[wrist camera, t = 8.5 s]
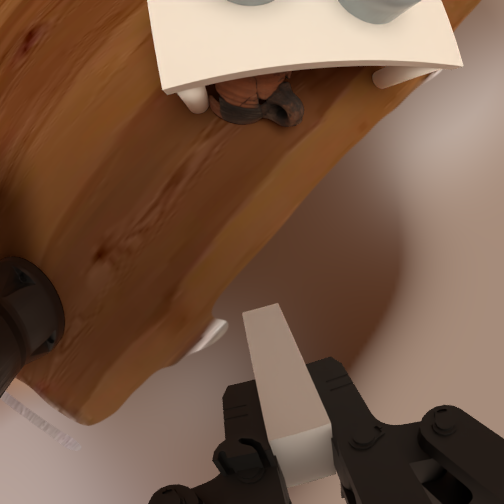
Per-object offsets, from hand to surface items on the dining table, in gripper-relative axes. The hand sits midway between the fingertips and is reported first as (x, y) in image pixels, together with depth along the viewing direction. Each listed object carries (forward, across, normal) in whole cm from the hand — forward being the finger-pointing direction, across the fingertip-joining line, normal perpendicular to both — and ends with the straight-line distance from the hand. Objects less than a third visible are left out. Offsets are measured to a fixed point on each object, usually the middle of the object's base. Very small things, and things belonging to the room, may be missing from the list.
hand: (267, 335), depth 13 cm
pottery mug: (+24, +6, +14) cm, 28 cm away
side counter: (+23, +11, +19) cm, 32 cm away
